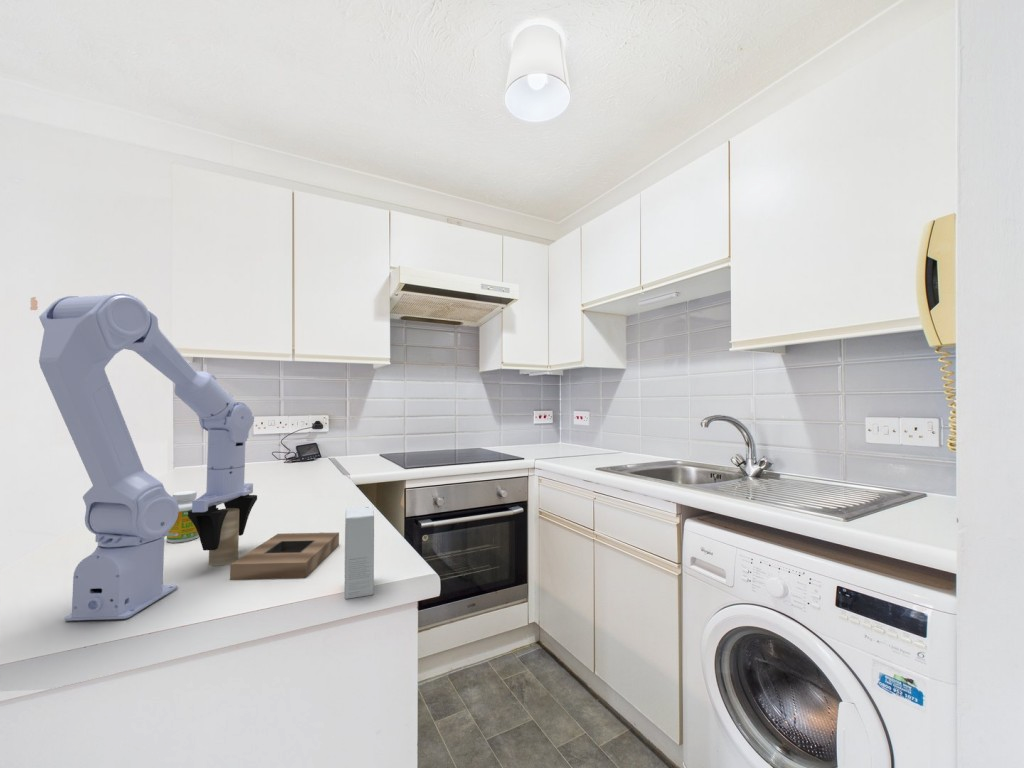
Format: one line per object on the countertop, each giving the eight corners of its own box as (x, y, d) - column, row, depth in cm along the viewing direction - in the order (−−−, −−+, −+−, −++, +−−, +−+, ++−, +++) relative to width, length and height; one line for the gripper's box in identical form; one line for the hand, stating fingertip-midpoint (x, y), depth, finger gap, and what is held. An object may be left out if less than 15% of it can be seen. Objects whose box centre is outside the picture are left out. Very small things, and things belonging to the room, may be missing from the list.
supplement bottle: (181, 544, 84) (182, 496, 85) (159, 542, 85) (161, 494, 86) (205, 535, 90) (207, 490, 90) (185, 534, 91) (186, 489, 91)
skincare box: (344, 583, 66) (345, 507, 67) (372, 579, 68) (373, 505, 68) (343, 600, 61) (344, 517, 61) (374, 595, 62) (375, 515, 63)
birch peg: (228, 565, 73) (230, 514, 74) (202, 566, 73) (204, 514, 74) (243, 556, 78) (244, 507, 78) (218, 556, 78) (220, 508, 78)
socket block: (305, 577, 68) (305, 562, 69) (229, 579, 68) (230, 564, 68) (338, 544, 84) (339, 532, 84) (277, 546, 83) (277, 533, 83)
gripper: (224, 473, 69) (221, 556, 69) (269, 461, 84) (267, 529, 83) (179, 474, 69) (177, 557, 68) (232, 461, 83) (231, 529, 83)
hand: (224, 542), depth 76 cm, fingers open, 7 cm apart
